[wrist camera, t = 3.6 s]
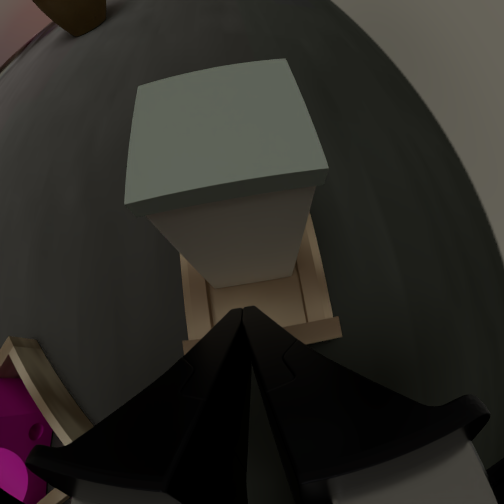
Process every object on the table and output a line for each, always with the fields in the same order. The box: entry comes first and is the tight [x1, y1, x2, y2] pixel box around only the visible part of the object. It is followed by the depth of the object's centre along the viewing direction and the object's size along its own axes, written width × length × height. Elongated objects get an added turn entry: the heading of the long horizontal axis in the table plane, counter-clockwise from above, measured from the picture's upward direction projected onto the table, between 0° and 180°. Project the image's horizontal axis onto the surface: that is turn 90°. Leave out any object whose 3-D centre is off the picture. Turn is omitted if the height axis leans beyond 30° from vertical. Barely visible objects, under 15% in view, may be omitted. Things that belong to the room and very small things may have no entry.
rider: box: [124, 59, 329, 289], centre depth 13 cm, size 5×5×12 cm
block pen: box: [0, 336, 94, 504], centre depth 14 cm, size 12×21×4 cm, turn 137°
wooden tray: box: [180, 211, 342, 355], centre depth 20 cm, size 20×9×3 cm, turn 9°
